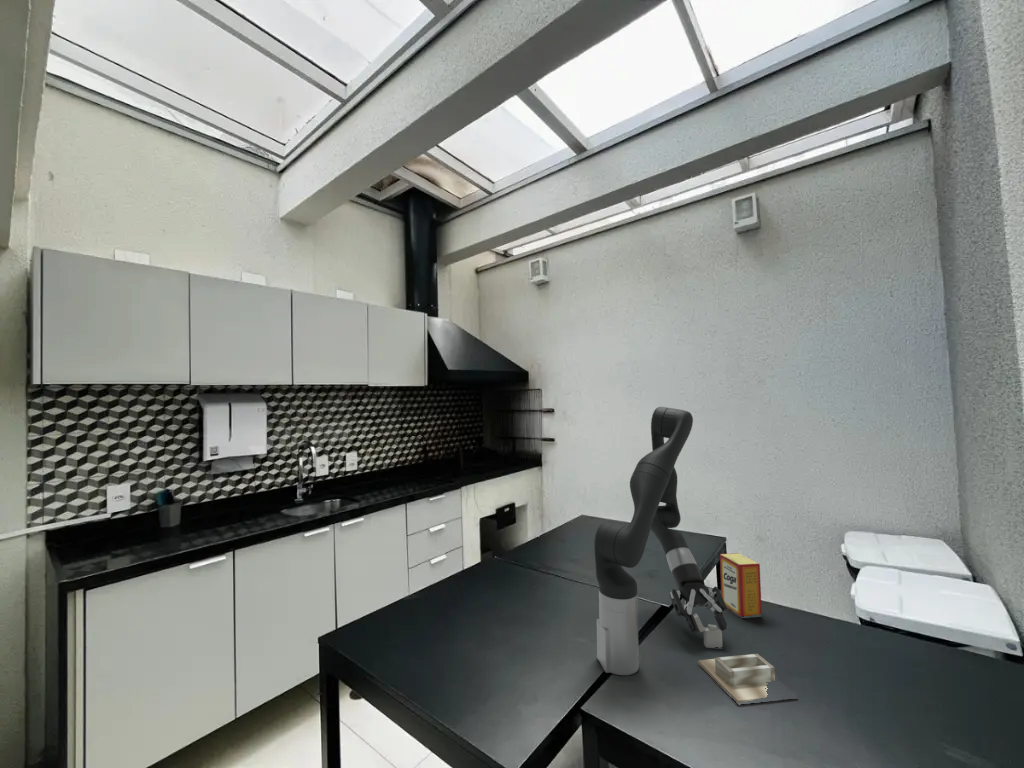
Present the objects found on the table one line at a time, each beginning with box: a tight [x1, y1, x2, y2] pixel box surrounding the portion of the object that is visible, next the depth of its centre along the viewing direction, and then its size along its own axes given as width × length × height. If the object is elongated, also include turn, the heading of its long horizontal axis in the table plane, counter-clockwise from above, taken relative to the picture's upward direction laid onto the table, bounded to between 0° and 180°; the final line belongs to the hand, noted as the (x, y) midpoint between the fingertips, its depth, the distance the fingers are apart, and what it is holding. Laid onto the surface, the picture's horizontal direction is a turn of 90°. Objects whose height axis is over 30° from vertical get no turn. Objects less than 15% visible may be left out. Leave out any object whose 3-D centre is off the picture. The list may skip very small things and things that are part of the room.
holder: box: [697, 653, 776, 703], centre depth 93 cm, size 14×14×4 cm
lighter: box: [691, 612, 723, 649], centre depth 107 cm, size 7×2×8 cm, turn 85°
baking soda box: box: [719, 552, 763, 617], centre depth 126 cm, size 10×6×16 cm
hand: (710, 630), depth 106 cm, fingers closed on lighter, 7 cm apart
